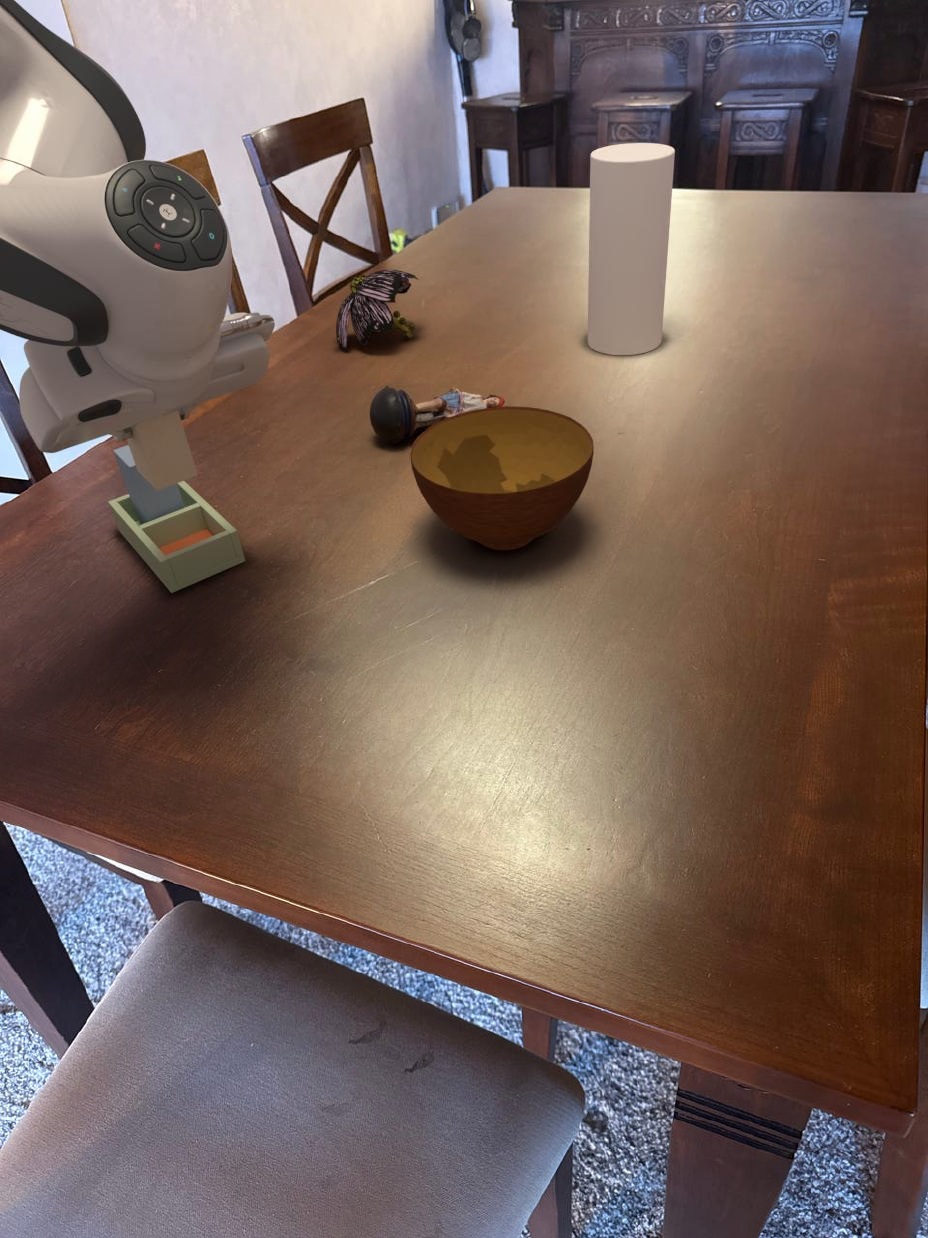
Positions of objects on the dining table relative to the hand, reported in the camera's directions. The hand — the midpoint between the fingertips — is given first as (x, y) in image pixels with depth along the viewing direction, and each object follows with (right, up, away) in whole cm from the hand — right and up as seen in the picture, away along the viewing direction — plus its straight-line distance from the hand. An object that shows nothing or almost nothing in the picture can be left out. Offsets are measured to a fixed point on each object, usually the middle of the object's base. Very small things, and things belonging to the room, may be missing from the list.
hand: (148, 423), depth 78 cm
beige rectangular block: (+1, -4, +3) cm, 5 cm away
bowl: (+33, -9, +12) cm, 36 cm away
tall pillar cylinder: (+52, +23, +49) cm, 75 cm away
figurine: (+26, +6, +31) cm, 41 cm away
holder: (-2, -10, +14) cm, 17 cm away
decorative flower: (+16, +25, +56) cm, 64 cm away
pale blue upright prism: (-4, -8, +16) cm, 18 cm away
